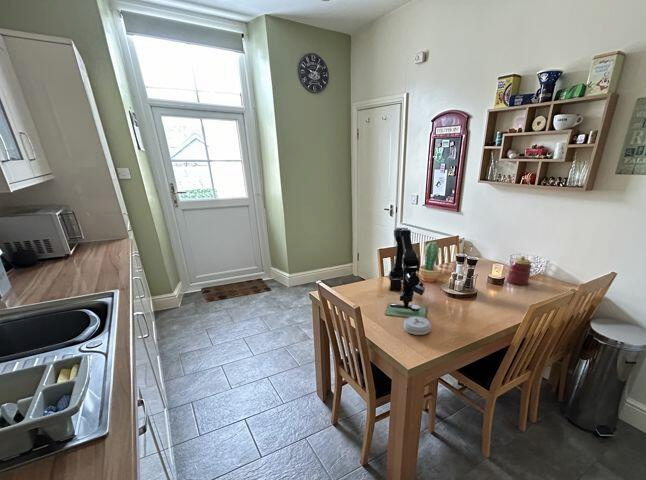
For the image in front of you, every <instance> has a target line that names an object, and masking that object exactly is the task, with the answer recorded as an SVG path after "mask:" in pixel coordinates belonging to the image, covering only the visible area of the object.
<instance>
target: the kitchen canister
mask: <svg viewBox="0 0 646 480" xmlns="http://www.w3.org/2000/svg"><path fill="white" fill-rule="evenodd" d="M532 268H533V266H532V261H530V259H528V258H526V257H525V256H524V255H522V256H520V257H515V258H513V259H512V262H510V267H509V270H508V275H507V278H506V279H507V282H508V283H509V284H513V285H517V286H526V285H528V283H529V280H530V275H531V273H532V272H531V271H532V270H531V269H532Z"/></svg>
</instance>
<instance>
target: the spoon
mask: <svg viewBox="0 0 646 480" xmlns="http://www.w3.org/2000/svg"><path fill="white" fill-rule="evenodd" d="M389 304H390V303H389ZM397 304H398V303H392V304H390V307H393V308H402V309H411V311H414V312H418V311H419V310H420V307H421V306H420V307H419V305H417V304H413V305H411V306H408V308H405V306H404V304H401V305H397Z"/></svg>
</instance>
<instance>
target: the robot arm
mask: <svg viewBox="0 0 646 480" xmlns="http://www.w3.org/2000/svg"><path fill="white" fill-rule="evenodd" d="M411 235H412V230H411V229H409V228H408V227H396V228H395V229H394V230H393V237H394V239H395V242H396V244H395V245H396V246H395V247H396V248H395V255H394V262H393V265H392V266H391V267H390V270H389V273H388V279H389V280H388V281H390V285H389V291H396V292H402V293H401V294H400V295H399V301H400V302H402V304H403V305H404V306H405V308H408V305H410V303H412V302H413V299H414V295H415V294H417V295H419V296H423V294H425V291H426V287H425V286H424V282H421V279H420V277H419V275H418V273H417V272H420V271H419V269H420V265H421V264H420V263H421V262H420V259H419V257H418V254H417V252H416V251H415V250H414V248H413V243H412V237H411Z"/></svg>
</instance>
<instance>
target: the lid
mask: <svg viewBox="0 0 646 480" xmlns="http://www.w3.org/2000/svg"><path fill="white" fill-rule="evenodd" d="M431 327H432V323H431V321H430V320H429V319H427V318H426V317H425V318H423V317H417V316H414V317H406V318H405V319H404V321H403V330H404V331H405V332H407V333H409V334H411V335H416V336H424V335H427V334H429V333H430V332H431Z"/></svg>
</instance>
